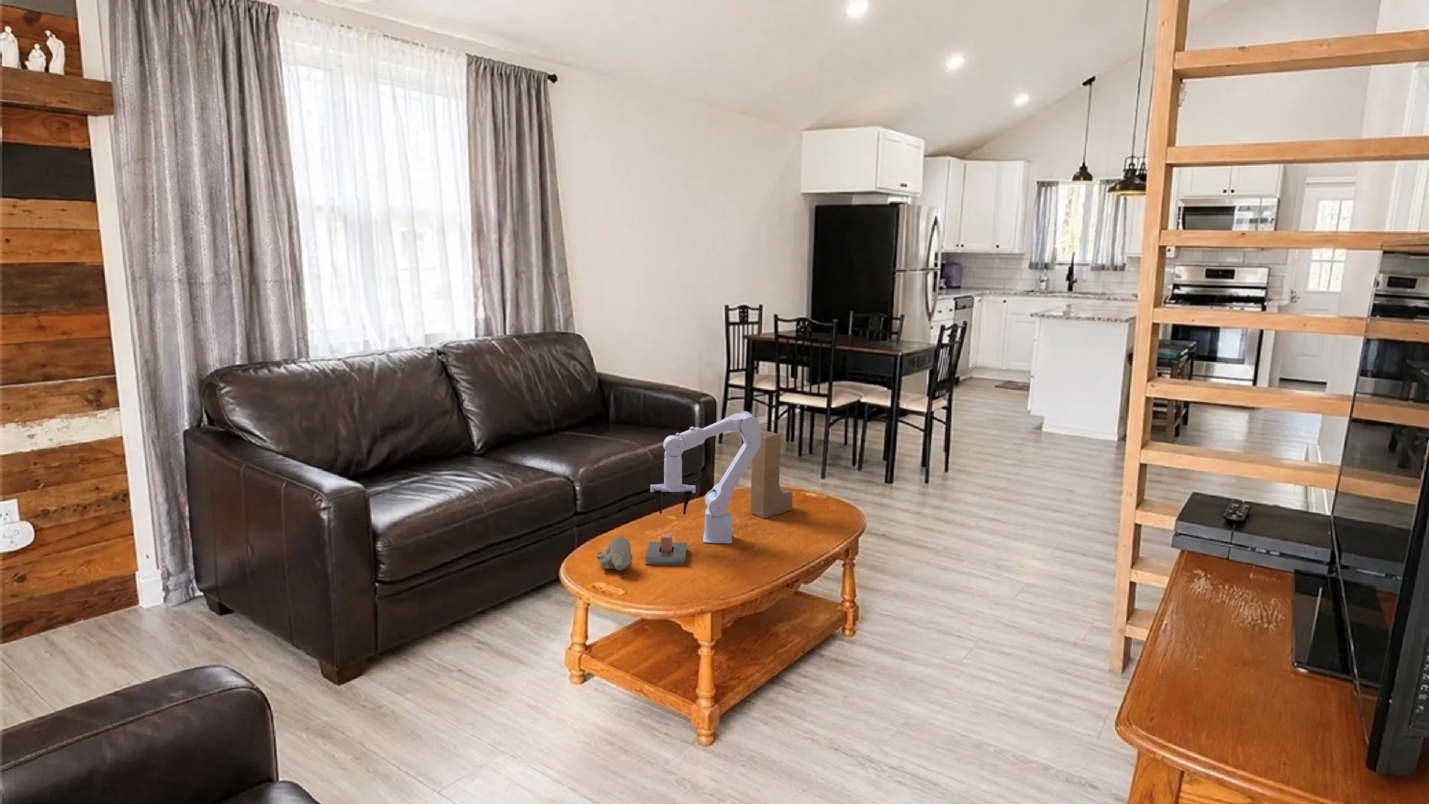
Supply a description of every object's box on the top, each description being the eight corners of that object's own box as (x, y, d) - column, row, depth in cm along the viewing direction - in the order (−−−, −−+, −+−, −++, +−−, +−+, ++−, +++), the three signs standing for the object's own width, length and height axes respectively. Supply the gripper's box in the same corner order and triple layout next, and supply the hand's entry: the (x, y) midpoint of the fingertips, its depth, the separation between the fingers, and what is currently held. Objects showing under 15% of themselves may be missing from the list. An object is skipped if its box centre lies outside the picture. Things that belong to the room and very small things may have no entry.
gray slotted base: (686, 550, 260) (686, 542, 260) (684, 565, 249) (684, 557, 248) (649, 549, 260) (649, 541, 260) (645, 564, 249) (645, 556, 248)
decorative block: (792, 510, 299) (795, 431, 293) (764, 519, 289) (766, 437, 283) (778, 505, 305) (780, 427, 299) (749, 513, 295) (751, 433, 289)
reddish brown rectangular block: (672, 554, 256) (672, 533, 255) (671, 558, 253) (671, 537, 252) (661, 554, 256) (662, 533, 255) (661, 558, 253) (661, 537, 252)
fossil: (622, 570, 253) (592, 560, 250) (634, 539, 253) (604, 528, 251) (629, 582, 239) (597, 571, 236) (642, 548, 239) (610, 537, 237)
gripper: (649, 476, 259) (649, 516, 261) (694, 477, 258) (694, 517, 261) (651, 469, 266) (651, 509, 268) (695, 470, 265) (695, 510, 268)
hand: (672, 512), depth 265 cm, fingers open, 7 cm apart
